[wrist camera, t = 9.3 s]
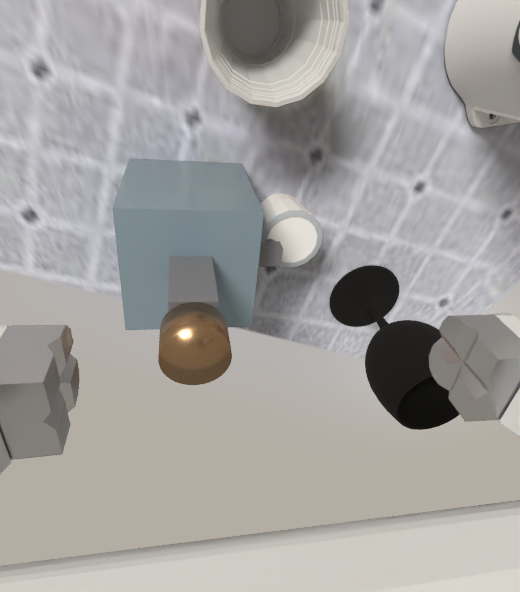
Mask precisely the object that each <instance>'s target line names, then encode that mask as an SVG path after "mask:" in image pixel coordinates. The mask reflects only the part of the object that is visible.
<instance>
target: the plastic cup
mask: <svg viewBox="0 0 520 592" xmlns="http://www.w3.org/2000/svg"><path fill="white" fill-rule="evenodd" d="M348 24H349V15H348V1H347V0H201V11H200V27H199V31H200V35H201V38H202V42H203V45H204V49H205V53H206V56H207V60H208V64H209V65H210V66H211V68H212V69H213V71H214V72H215V73H216V75H217V76H218V78H219V79H220V80H221V82H222V83H223V85H224V86H225V87H226V89H227V90H229V91H231V92H232V93H234V94H235V95H237V96H239V97H240V98H242V99H243V100H245V101H247V102H248V103H250V104H256V105H263V106H271V107H279V106H282V105H285V104H289V103H292V102H296V101H299V100H302V99H303V98H305V97H306V96H307V95H308V94H310V93H311V92H312V91H313V90H314V89H316V88H317V87H318V86H319V85H321V84H322V83H323V82H324V81H325V80H326V78H327V76H328V75H329V73H330V72H331V70H332V68H333V67H334V65H335V64H336V62H337V60H338V59H339V57H340V55H341V52H342V48H343V44H344V40H345V36H346V32H347V28H348Z"/></svg>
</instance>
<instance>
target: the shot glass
mask: <svg viewBox="0 0 520 592" xmlns="http://www.w3.org/2000/svg"><path fill="white" fill-rule="evenodd" d="M261 207H262V209H263V211H264V216H263V226H262V235H261V241H266V240H267V239H273V240H275V241H280V243H281V245H282V247H283V254H282V261H281V267H283V268H288V267H297V266H300V265H302V264H305V263H307V262H308V261H309V260H310V259H311V258H313V257H314V256H315V255H316V253H317V251H318V250H319V248H320V246H321V243H322V237H323V232H322V229H321V225H320V223H319V222H318V221H317V219H316V218H315V217H314V216H313V215H312V214H311V213H310V212H309V211H308V210H307V209H306V208H305V207H304V206H303V205H302V204H300V203H299V202H298V201H297V200H296V199H295V198H294V197H292V196H290V195H288V194H274V195H272V196H269V197H267V198H266V199H265V200H264V201H263V202H262V203H261Z"/></svg>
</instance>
